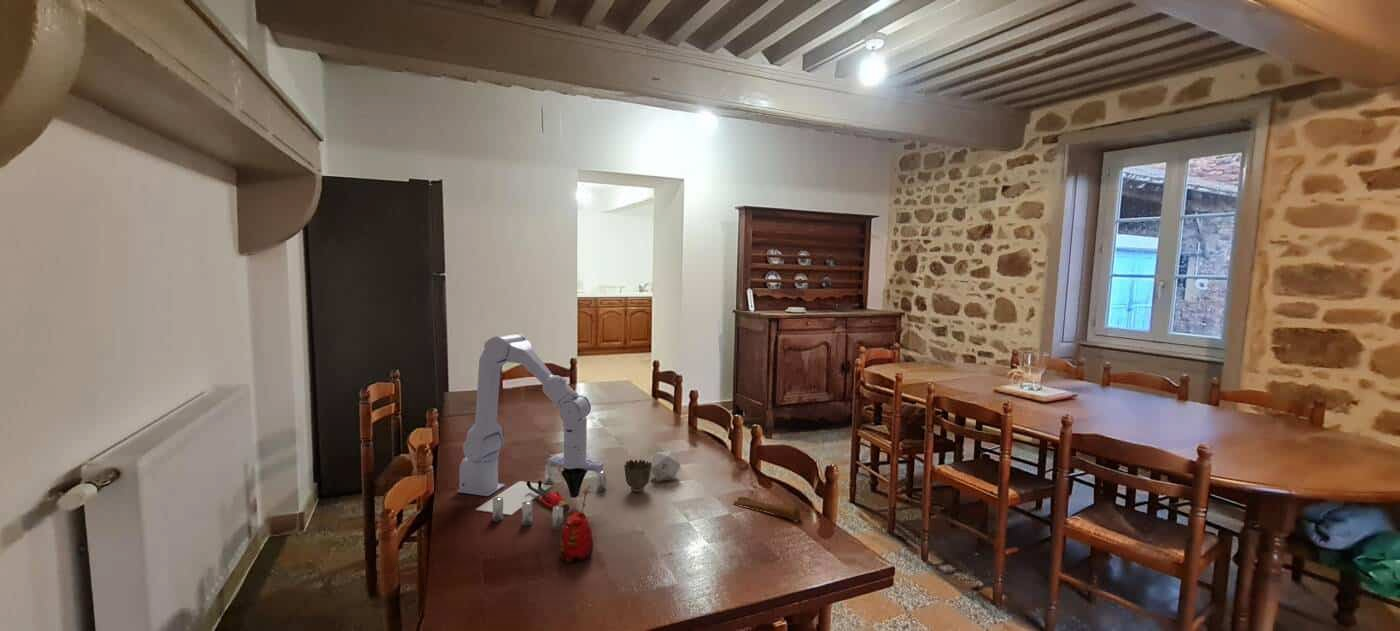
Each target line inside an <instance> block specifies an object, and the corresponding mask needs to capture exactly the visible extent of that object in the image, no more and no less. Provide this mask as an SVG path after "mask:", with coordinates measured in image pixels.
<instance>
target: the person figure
mask: <svg viewBox="0 0 1400 631" xmlns="http://www.w3.org/2000/svg"><path fill="white" fill-rule="evenodd" d="M526 482H527V486H528V488H529V489H530V490H532V491H534V492H535V493H537V494H539V496H538V498H539V499H538V500H540V502H541V503H542V504H543V505H544V506H545V507H548V508H551V509H553V507H554V506H557V505H561V506H563V514H566V513H568V512H569V511H570V505H569V503H568V502H566V500H565V499H564V498H563V497H562V496H561V494H560V493H559V491H558V490H557V489H555V488H553V492H552V491H550V490H544V489H543V488H542V487H541V484H543V482H542V480H538V482H537V483H538V490H537V489H535V488H533V487H532V486H531V483H532V482H531V481H529V480H528V481H526ZM555 493H556V494H555ZM548 502H550V503H548Z"/></svg>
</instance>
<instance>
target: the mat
mask: <svg viewBox="0 0 1400 631" xmlns="http://www.w3.org/2000/svg"><path fill="white" fill-rule="evenodd" d="M530 483H531V486H532V487H533V488H535V489H537V490H538V482H530ZM541 487H542V488H543V489H544V490H546V491H548V490H549V489H550V488H551V487H552V485H551V484H546V483H545V484H544V483H542V484H541ZM495 497H503V516H510V517H511V516H513V515H514V514H516V513H517V512H518V511H520V510H521V509H522V503H523V502H525V501H532V502H533V500H535V499H536V498H537V497H538V498H539V494H537V493H535V492H534V491H532V490H530V489H529V488H528V486H527V481H521V480H519V481H518V482H515V483H514V484H513V485H512V486H509V487H508V488H507V489H505V490H503V491H502V492H500V493H499V494H497V495H496V496H494V497H492V498H491V499H490V500H488V501H486V502H484V503H483V504H481V505H480V506H479V507H477V508H475V511H478V512H484V513H485V512H486V513H491V514H493V498H495Z"/></svg>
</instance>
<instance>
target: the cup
mask: <svg viewBox="0 0 1400 631" xmlns="http://www.w3.org/2000/svg"><path fill="white" fill-rule="evenodd" d="M651 462H652V461H648V460H647V461H645V459H643V460H642V459H639V461H638V459H634V460H633V459H630V460H626V461H625V463H624V465H623V466H624V475H625V481H626V484H627V485H628V486H629V487H630V492H631V493H634V494H641V493H644V491H645V487H646V486H647V485H648V483H649V481H650V478H651V473H652V471H651Z"/></svg>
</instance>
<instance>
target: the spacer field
mask: <svg viewBox="0 0 1400 631" xmlns="http://www.w3.org/2000/svg"><path fill="white" fill-rule="evenodd" d="M544 466H545V467H544V469H545V471H544V472H545V474H544V478H545V479H544V483H545V485H551V484H554V483H555V466H552V467H548V463H547V464H545V465H544ZM596 477H597V482H596V483H597V484H596V490H597V491H598V492H604V491H606V490H607V470H604V469H603V470H602V471H601V472H600V473H597V476H596ZM494 497H495V498H494ZM494 497H492V498H493V513H492V520H493V521H494V522H500V521H502V520H504V515H503V497H496V496H494ZM533 504H534V502H533V500H532V501H525V502H523V503H522V508H521V509H522V512H521V517H522V520H521V524H522V526H532V524H533V522H534V519H533V518H534V517H533V516H534V509H533V508H534V505H533ZM563 525H564V513H563V506H561V505H557V506H554V507H553V508H552V530H553V531H562V526H563Z"/></svg>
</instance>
